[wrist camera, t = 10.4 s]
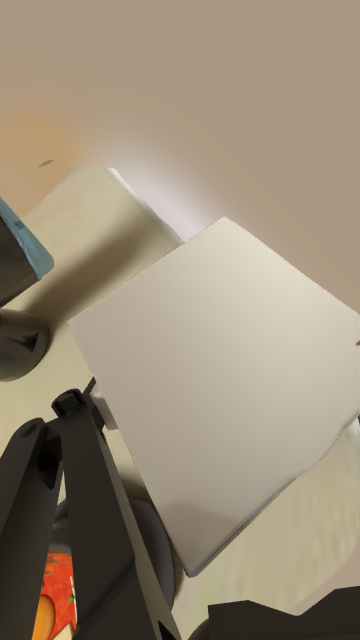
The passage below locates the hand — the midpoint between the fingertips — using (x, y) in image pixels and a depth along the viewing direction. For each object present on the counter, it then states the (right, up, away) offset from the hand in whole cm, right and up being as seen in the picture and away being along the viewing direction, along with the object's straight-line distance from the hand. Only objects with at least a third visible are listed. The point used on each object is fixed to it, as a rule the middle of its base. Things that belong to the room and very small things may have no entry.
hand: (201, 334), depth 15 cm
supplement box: (+1, -5, +5) cm, 7 cm away
